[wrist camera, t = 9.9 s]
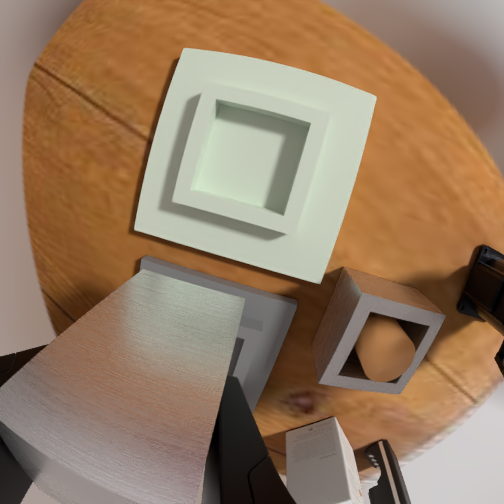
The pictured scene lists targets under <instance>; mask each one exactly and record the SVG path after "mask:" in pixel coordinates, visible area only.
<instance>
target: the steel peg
mask: <svg viewBox="0 0 504 504" xmlns="http://www.w3.org/2000/svg"><path fill="white" fill-rule="evenodd" d="M244 303H245V298H241V297H237V296H233V295H230V294H226V293H223V292H219V291H215V290H212V289H208V288H205V287H201V286H198V285H194V284H191V283H188V282H184V281H181V280H178V279H174V278H171V277H168V276H164V275H161V274H158V273H155V272H151V271H148V270H145V269H143V270H141V271H140V272H139V273H137V274H136V275H135V276H133V277H132V278H131V279H130V280H128V281H127V282H126V283H124V284H123V285H122V286H120V287H119V288H118V289H116V290H115V291H114V292H113V293H111V294H110V295H109V296H107V297H106V298H105V299H104V300H102V301H101V302H100V303H99V304H97V305H96V306H95V307H93V308H92V309H91V310H90V311H88V312H87V313H86V314H85V315H83V316H82V317H81V318H80V319H79V320H77V321H76V322H75V323H74V324H72V325H71V326H70V327H69V328H68V329H66V330H65V331H64V332H63V333H62V334H60V335H59V336H58V337H57V338H56V339H54V340H53V341H52V342H51V343H50V344H49V345H47V346H46V347H45V348H44V349H43V350H42V351H40V352H39V353H38V354H37V355H36V356H35V357H34V358H32V359H31V360H30V361H29V362H28V363H27V364H26V365H25V366H23V367H22V368H21V369H20V370H19V371H18V372H17V373H16V374H15V375H13V376H12V377H11V378H10V379H9V380H8V381H7V382H6V383H5V384H4V385H3V386H2V387H1V388H0V436H1V437H2V439H3V440H4V442H5V444H6V445H7V447H8V448H9V450H10V451H11V453H12V454H13V455H14V457H15V458H16V460H17V461H18V462H19V464H20V465H21V467H22V468H23V469H24V471H25V472H26V473H27V474H28V476H29V477H30V478H31V479H32V481H33V482H34V483H35V484H36V485H37V487H38V488H39V489H40V490H41V491H43V492H44V493H46V494H47V495H49V496H50V497H52V498H54V499H55V500H56V501H58V502H60V503H62V504H195V501H196V497H197V493H198V489H199V485H200V481H201V477H202V473H203V469H204V465H205V461H206V457H207V453H208V449H209V445H210V441H211V437H212V433H213V429H214V425H215V421H216V417H217V413H218V409H219V405H220V401H221V397H222V393H223V389H224V385H225V381H226V377H227V373H228V369H229V365H230V361H231V357H232V353H233V349H234V344H235V340H236V336H237V332H238V328H239V324H240V320H241V316H242V312H243V308H244Z"/></svg>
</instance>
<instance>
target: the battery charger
mask: <svg viewBox="0 0 504 504" xmlns="http://www.w3.org/2000/svg"><path fill="white" fill-rule="evenodd" d="M365 454H366V457H367V458H368V460H369V461H370V462H371V464H372V465H373V466H374V467H375V468H379V469H380V470H381V476H380V478H379V480H378V481H377V483H378V485H377V486H374V487H372V488H370V489H369V498H370V503H371V504H411V502H410V498H409V495H408V492H407V489H406V485H405V482H404V479H403V476H402V473H401V470H400V467H399V464H398V461H397V458H396V456H395V454H394V452H393V450H392V448H391V446H390V444H389V442H388V441H387V440H383V441H379V442H378V443H377V444H374V445H372V446H371V447H369V448H368V449H367V450H366V451H365Z"/></svg>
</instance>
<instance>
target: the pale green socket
mask: <svg viewBox="0 0 504 504" xmlns="http://www.w3.org/2000/svg"><path fill="white" fill-rule="evenodd" d="M376 97H377V96H374V95H372V94H370V93H367V92H365V91H362V90H360V89H357V88H355V87H352V86H349V85H347V84H344V83H341V82H338V81H336V80H333V79H330V78H327V77H324V76H321V75H317V74H314V73H311V72H308V71H304V70H301V69H297V68H294V67H290V66H286V65H282V64H278V63H274V62H270V61H265V60H261V59H256V58H251V57H246V56H240V55H235V54H229V53H222V52H215V51H207V50H199V49H189V48H184V49H183V52H182V54H181V57H180V59H179V62H178V65H177V67H176V70H175V73H174V76H173V78H172V81H171V84H170V87H169V90H168V93H167V96H166V99H165V102H164V105H163V109H162V112H161V115H160V119H159V122H158V125H157V129H156V132H155V136H154V140H153V143H152V147H151V151H150V155H149V159H148V163H147V167H146V172H145V176H144V181H143V185H142V190H141V195H140V200H139V205H138V210H137V215H136V221H135V227H134V230H137V231H140V232H143V233H146V234H150V235H153V236H156V237H160V238H163V239H166V240H170V241H173V242H176V243H180V244H183V245H186V246H190V247H193V248H196V249H200V250H203V251H206V252H210V253H213V254H217V255H220V256H223V257H227V258H230V259H233V260H237V261H240V262H244V263H247V264H251V265H254V266H258V267H261V268H264V269H268V270H271V271H275V272H278V273H282V274H285V275H289V276H292V277H296V278H299V279H303V280H306V281H310V282H313V283H317V284H320V283H321V281H322V278H323V275H324V273H325V270H326V267H327V264H328V262H329V259H330V256H331V253H332V250H333V247H334V245H335V242H336V239H337V236H338V233H339V230H340V227H341V224H342V221H343V218H344V215H345V212H346V208H347V205H348V202H349V199H350V196H351V192H352V189H353V186H354V182H355V179H356V175H357V172H358V169H359V165H360V161H361V158H362V154H363V150H364V147H365V143H366V139H367V135H368V131H369V127H370V123H371V119H372V115H373V111H374V106H375V102H376Z"/></svg>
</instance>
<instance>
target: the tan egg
mask: <svg viewBox="0 0 504 504" xmlns="http://www.w3.org/2000/svg"><path fill="white" fill-rule="evenodd" d="M354 348H355V350H356V352H357V355H358V357H359V359H360V362H361V364H362V367H363V369H364V372H365V374H366V376H367V377H368V378H369V379H370V380H372V381H375V382H387V381H391V380H393V379H395V378H397V377H399V376H400V375H402V374H403V373H404V372H405V371H406V370H407V369H408V368H409V367H410V365H411V364H412V362H413V360H414V357H415V346H414V344H413V342H412V341H411V340H410V338H409V337H408V336H407V334H406V333H405V332H404V330H403V329H402V328H401V326H400V325H399V324H398V322H397V321H396V320H395V318H394V317H390V316H386V315H382V314H378V313H374V312H371V311H370V313H369V315H368V317H367V320H366V322H365V324H364V326H363V328H362V330H361V332H360V334H359V336H358V338H357V340H356V342H355V344H354Z"/></svg>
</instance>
